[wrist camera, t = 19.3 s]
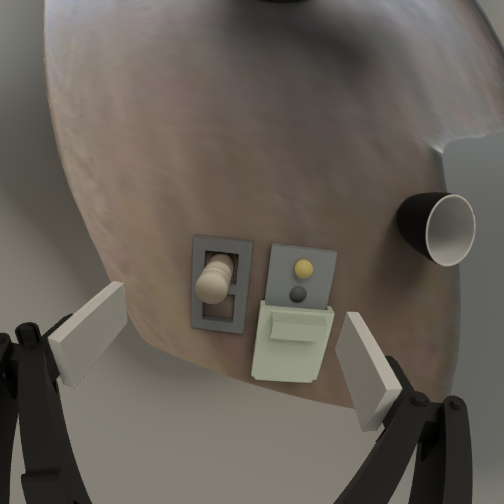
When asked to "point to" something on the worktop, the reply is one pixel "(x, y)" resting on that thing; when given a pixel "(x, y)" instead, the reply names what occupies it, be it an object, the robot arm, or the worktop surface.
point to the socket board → (237, 289)
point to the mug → (438, 226)
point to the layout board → (299, 276)
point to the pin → (215, 278)
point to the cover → (290, 343)
